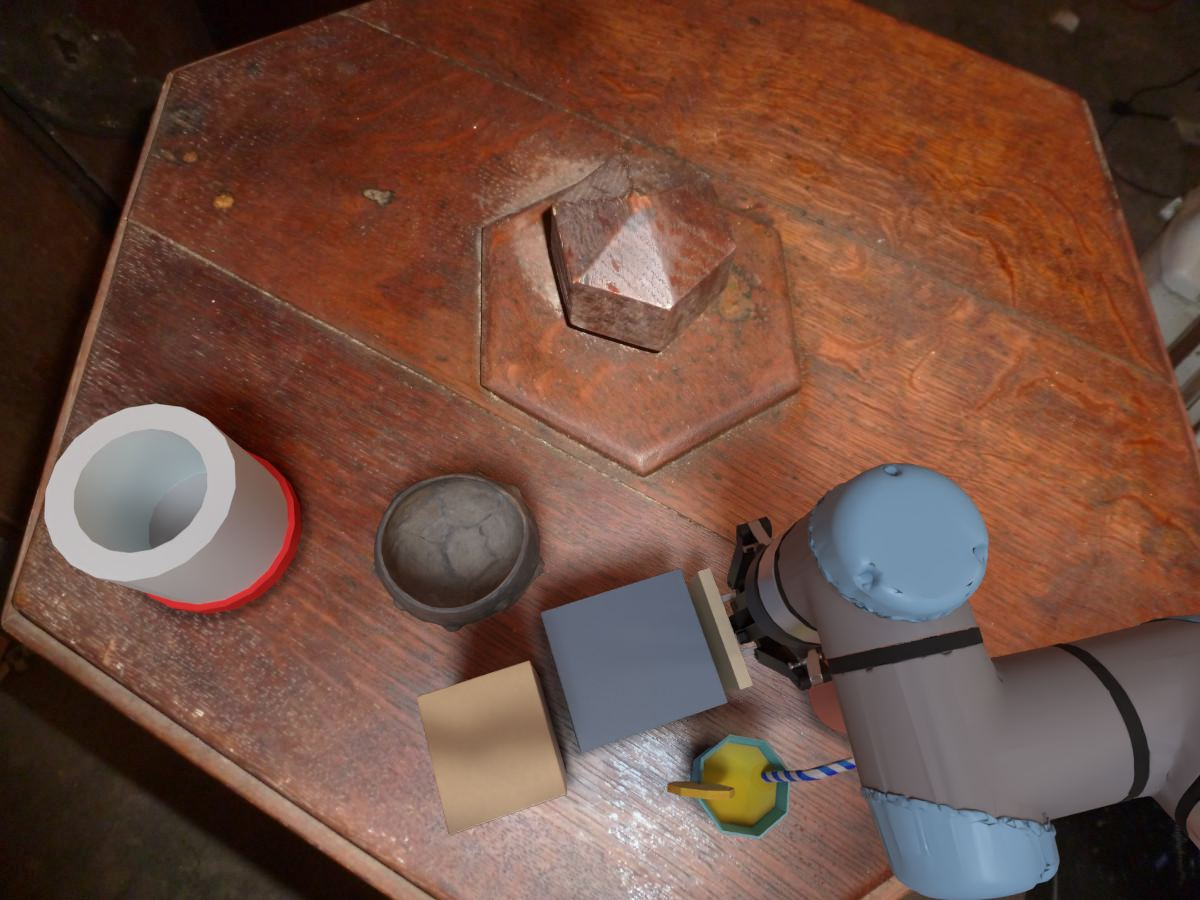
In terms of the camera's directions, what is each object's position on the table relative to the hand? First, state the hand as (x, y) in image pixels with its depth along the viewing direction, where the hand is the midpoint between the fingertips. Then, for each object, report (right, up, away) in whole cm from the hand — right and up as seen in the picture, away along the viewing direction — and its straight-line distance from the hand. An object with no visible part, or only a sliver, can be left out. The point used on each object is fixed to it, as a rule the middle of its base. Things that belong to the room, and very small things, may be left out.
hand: (736, 625), depth 72 cm
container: (-50, +8, +4) cm, 51 cm away
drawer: (-5, -2, +1) cm, 6 cm away
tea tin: (+11, -7, +1) cm, 13 cm away
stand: (-21, -10, -1) cm, 23 cm away
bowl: (-26, +5, +4) cm, 27 cm away
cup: (-1, -13, -1) cm, 13 cm away
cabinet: (-10, -4, +1) cm, 11 cm away
